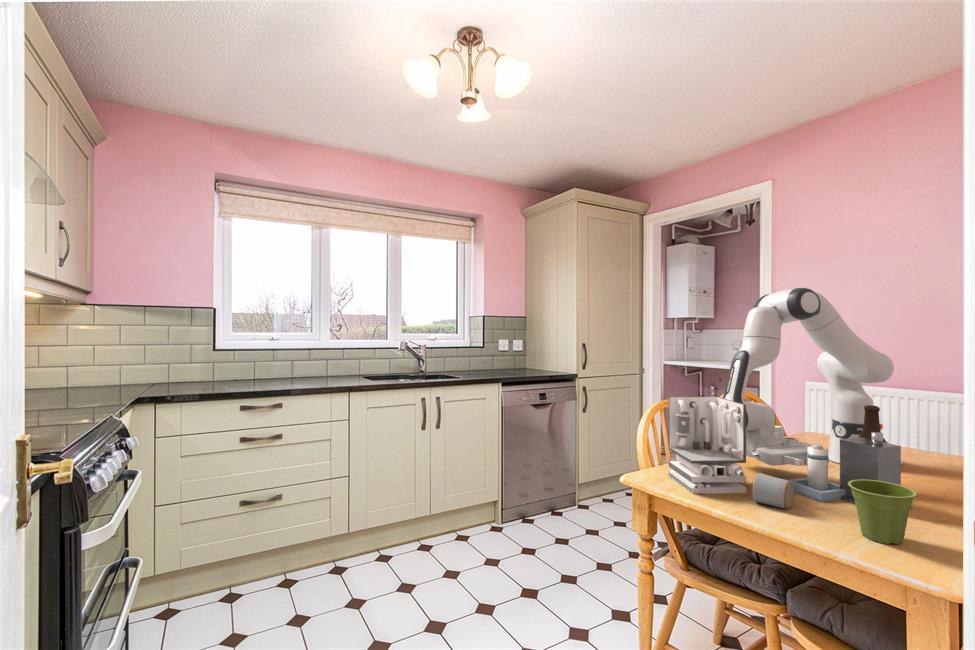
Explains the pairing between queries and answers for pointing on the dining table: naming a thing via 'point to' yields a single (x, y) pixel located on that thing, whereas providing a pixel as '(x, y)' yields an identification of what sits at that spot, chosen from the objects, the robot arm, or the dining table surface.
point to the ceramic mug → (772, 491)
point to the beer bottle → (871, 421)
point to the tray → (821, 496)
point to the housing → (868, 462)
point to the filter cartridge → (817, 468)
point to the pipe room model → (707, 444)
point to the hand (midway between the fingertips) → (814, 461)
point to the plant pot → (882, 509)
